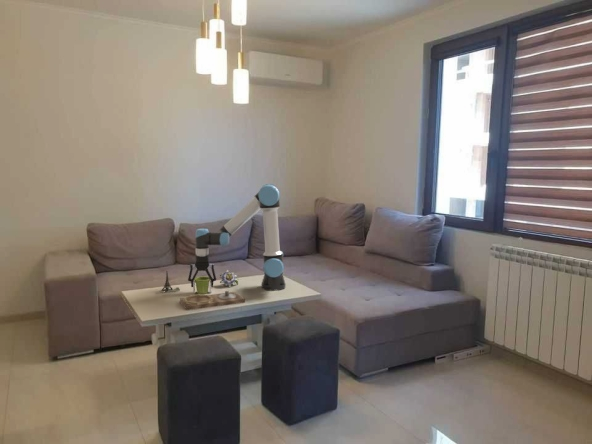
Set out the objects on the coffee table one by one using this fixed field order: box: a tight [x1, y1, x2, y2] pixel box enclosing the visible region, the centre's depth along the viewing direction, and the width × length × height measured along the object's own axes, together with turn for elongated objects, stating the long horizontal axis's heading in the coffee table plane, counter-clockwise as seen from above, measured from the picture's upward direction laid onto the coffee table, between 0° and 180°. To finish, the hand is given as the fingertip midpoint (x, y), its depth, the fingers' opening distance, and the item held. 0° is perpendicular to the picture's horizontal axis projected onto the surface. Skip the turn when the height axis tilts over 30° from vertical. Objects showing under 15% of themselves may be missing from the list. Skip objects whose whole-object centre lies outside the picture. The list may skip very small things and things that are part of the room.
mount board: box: [179, 290, 246, 311], centre depth 254 cm, size 32×16×5 cm, turn 119°
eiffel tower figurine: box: [160, 270, 181, 294], centre depth 276 cm, size 15×10×13 cm
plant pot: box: [194, 276, 211, 295], centre depth 273 cm, size 9×9×9 cm
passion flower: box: [219, 269, 239, 288], centre depth 290 cm, size 11×11×12 cm
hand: (202, 292), depth 273 cm, fingers open, 9 cm apart
